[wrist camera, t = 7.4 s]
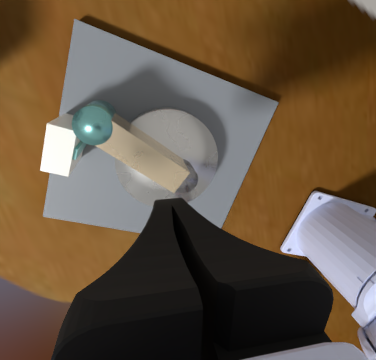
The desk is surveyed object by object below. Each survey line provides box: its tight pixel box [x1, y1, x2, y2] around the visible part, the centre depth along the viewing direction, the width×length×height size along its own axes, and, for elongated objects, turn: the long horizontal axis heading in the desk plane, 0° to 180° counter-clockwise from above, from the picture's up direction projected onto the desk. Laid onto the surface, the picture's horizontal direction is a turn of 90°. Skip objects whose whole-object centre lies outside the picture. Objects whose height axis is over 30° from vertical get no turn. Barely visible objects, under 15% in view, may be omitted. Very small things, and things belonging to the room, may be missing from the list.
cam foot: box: [72, 100, 218, 206], centre depth 17 cm, size 11×8×4 cm
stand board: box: [43, 19, 279, 233], centre depth 20 cm, size 16×15×1 cm
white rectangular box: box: [40, 113, 87, 177], centre depth 16 cm, size 2×3×4 cm, turn 161°
